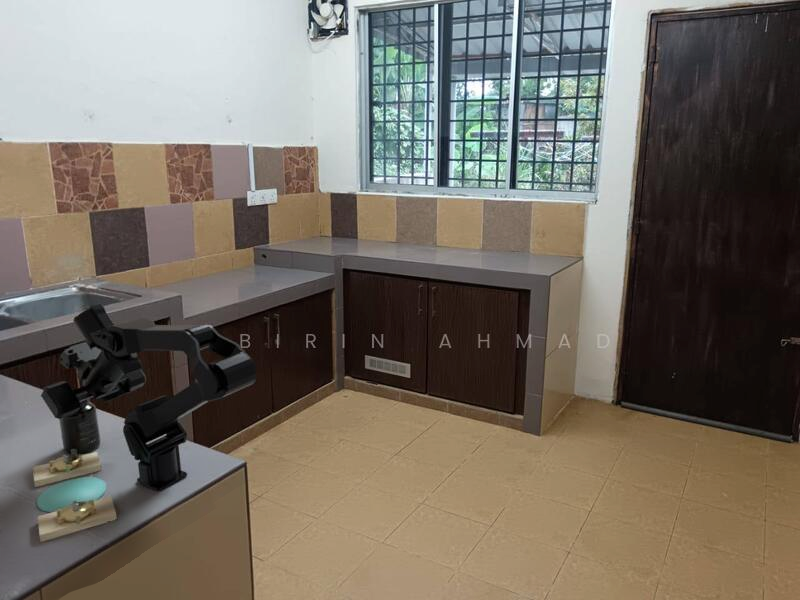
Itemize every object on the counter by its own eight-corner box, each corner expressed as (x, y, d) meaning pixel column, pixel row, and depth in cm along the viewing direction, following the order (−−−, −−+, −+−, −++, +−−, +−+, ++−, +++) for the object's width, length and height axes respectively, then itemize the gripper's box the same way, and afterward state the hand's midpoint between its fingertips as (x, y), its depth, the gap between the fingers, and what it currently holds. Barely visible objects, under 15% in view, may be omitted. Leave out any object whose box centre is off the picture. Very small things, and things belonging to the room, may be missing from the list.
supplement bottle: (56, 451, 124) (47, 396, 122) (86, 437, 130) (79, 385, 127) (78, 459, 121) (69, 403, 118) (108, 444, 127) (101, 390, 124)
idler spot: (35, 489, 111) (35, 488, 110) (102, 472, 116) (102, 471, 116) (38, 519, 102) (38, 518, 101) (110, 499, 107) (110, 498, 107)
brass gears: (49, 463, 117) (47, 448, 117) (81, 455, 120) (79, 441, 120) (59, 529, 97) (56, 512, 96) (97, 518, 100) (95, 502, 99)
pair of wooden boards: (33, 472, 116) (32, 467, 116) (97, 457, 122) (96, 451, 122) (40, 542, 96) (39, 535, 95) (116, 519, 101) (115, 513, 101)
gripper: (130, 320, 124) (102, 362, 132) (39, 346, 108) (13, 392, 116) (160, 364, 122) (130, 404, 130) (72, 396, 106) (44, 439, 114)
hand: (81, 408), depth 123 cm, fingers open, 9 cm apart
